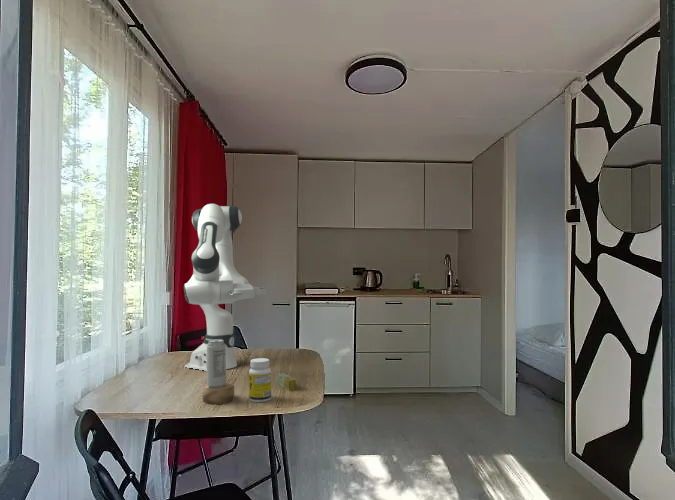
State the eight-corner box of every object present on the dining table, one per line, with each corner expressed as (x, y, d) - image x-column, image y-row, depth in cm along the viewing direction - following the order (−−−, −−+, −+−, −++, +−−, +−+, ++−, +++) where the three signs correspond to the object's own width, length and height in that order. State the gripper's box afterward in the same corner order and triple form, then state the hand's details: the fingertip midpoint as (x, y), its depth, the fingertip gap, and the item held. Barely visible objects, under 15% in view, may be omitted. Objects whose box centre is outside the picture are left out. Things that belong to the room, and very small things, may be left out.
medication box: (277, 384, 174) (277, 373, 174) (284, 382, 175) (284, 372, 175) (289, 391, 163) (289, 380, 163) (296, 390, 165) (296, 379, 165)
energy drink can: (220, 383, 159) (220, 338, 159) (229, 386, 154) (228, 340, 154) (203, 386, 155) (203, 340, 155) (212, 390, 150) (211, 342, 150)
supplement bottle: (250, 396, 157) (249, 357, 158) (272, 395, 158) (271, 357, 158) (248, 403, 150) (247, 362, 150) (271, 402, 151) (270, 361, 151)
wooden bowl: (196, 402, 152) (196, 389, 152) (214, 394, 161) (214, 381, 161) (222, 405, 148) (222, 391, 148) (240, 396, 158) (240, 383, 158)
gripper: (228, 285, 169) (267, 284, 172) (228, 281, 189) (263, 280, 192) (228, 303, 169) (267, 301, 172) (228, 297, 189) (263, 296, 192)
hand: (265, 290), depth 182 cm, fingers open, 8 cm apart
